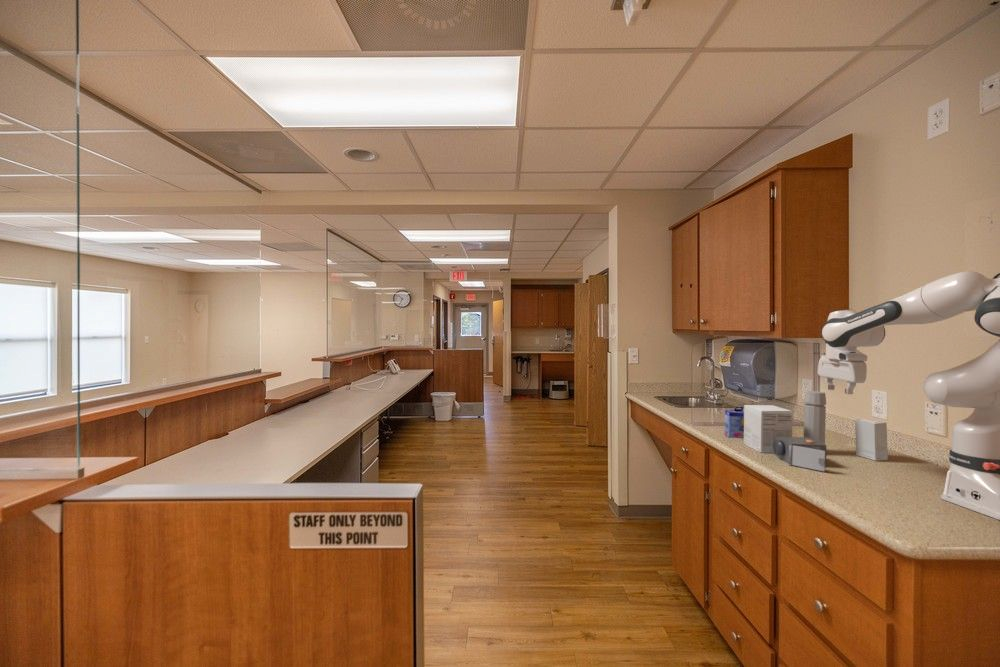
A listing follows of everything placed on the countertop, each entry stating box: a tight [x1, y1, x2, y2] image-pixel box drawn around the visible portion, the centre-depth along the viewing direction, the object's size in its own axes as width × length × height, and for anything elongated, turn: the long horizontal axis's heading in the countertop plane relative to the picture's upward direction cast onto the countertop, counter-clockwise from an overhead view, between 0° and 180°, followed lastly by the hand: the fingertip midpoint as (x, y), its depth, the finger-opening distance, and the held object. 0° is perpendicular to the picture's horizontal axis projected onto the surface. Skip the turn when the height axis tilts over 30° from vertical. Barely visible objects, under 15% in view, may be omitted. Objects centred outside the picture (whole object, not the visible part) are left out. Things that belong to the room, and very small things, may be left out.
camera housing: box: [773, 436, 827, 468], centre depth 164 cm, size 11×14×9 cm
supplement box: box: [743, 404, 794, 454], centre depth 180 cm, size 13×13×18 cm
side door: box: [788, 445, 826, 472], centre depth 155 cm, size 1×11×7 cm, turn 44°
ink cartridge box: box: [724, 406, 744, 439], centre depth 200 cm, size 10×6×14 cm, turn 85°
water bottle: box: [802, 390, 827, 445], centre depth 176 cm, size 9×8×25 cm
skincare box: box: [854, 418, 889, 462], centre depth 169 cm, size 8×6×15 cm
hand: (839, 391), depth 155 cm, fingers open, 8 cm apart
